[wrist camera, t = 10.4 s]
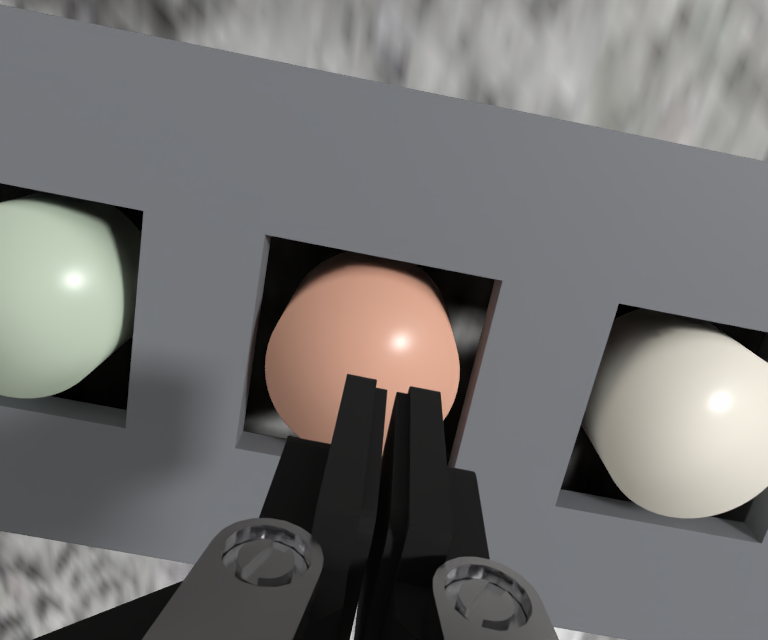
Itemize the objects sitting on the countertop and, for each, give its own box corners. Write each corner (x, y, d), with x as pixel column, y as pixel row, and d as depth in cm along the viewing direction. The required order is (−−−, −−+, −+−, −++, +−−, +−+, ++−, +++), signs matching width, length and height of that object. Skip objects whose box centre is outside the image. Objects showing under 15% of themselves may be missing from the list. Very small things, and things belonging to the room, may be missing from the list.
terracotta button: (466, 267, 20) (480, 299, 17) (430, 417, 21) (436, 474, 18) (299, 234, 20) (280, 260, 16) (275, 388, 21) (252, 441, 18)
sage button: (164, 208, 19) (116, 229, 16) (149, 365, 21) (103, 413, 18) (-9, 174, 19) (-94, 189, 16) (-11, 335, 21) (-89, 379, 17)
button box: (856, 184, 21) (994, 208, 16) (704, 558, 25) (777, 665, 20) (-56, -3, 20) (-202, -37, 15) (-53, 422, 24) (-166, 502, 19)
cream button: (757, 323, 20) (827, 366, 17) (702, 467, 22) (757, 532, 18) (596, 292, 20) (636, 329, 17) (552, 439, 22) (580, 500, 18)
